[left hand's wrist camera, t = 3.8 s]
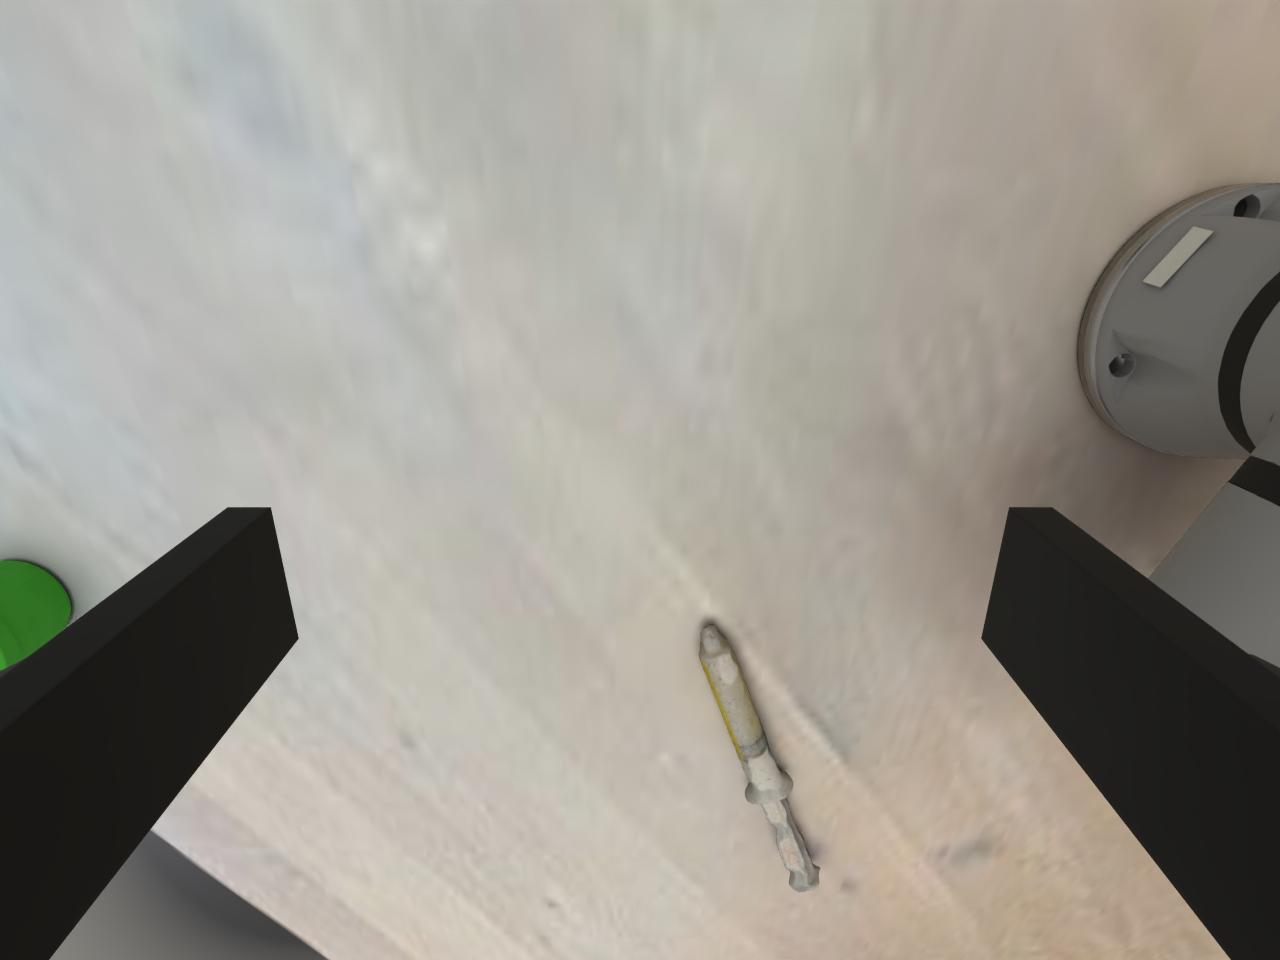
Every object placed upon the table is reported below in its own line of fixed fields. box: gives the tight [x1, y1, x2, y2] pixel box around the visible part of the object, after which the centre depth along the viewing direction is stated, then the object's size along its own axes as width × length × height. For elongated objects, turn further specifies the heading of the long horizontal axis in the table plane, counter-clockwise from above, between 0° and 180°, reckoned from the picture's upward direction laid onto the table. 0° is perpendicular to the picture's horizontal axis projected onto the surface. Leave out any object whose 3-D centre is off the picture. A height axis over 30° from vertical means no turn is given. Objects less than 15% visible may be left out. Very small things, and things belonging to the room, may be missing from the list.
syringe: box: [699, 625, 820, 892], centre depth 52 cm, size 25×4×3 cm, turn 18°
